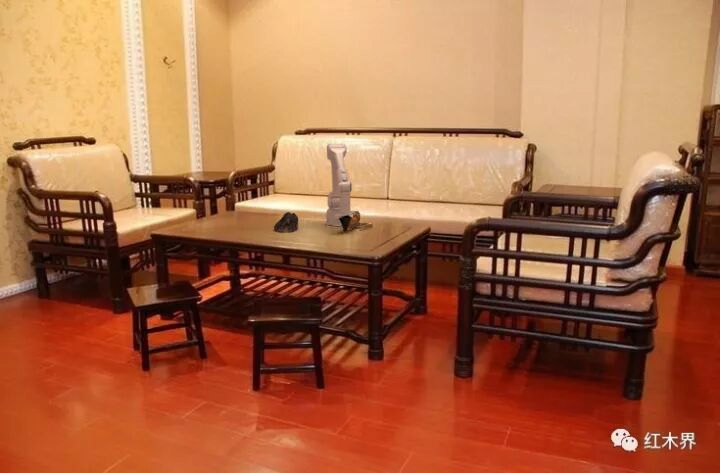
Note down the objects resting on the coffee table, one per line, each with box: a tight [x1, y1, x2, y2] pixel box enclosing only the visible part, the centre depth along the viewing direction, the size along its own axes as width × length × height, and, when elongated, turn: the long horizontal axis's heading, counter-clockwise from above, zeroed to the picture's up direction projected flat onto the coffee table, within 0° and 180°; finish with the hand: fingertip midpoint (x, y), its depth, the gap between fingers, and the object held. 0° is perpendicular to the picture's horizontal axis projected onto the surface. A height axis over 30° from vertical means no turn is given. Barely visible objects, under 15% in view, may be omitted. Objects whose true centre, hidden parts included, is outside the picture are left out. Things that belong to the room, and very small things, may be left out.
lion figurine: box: [342, 210, 361, 232], centre depth 308 cm, size 15×5×9 cm, turn 152°
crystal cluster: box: [273, 211, 299, 233], centre depth 307 cm, size 13×14×10 cm
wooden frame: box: [348, 221, 373, 232], centre depth 311 cm, size 9×10×2 cm
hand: (345, 230), depth 302 cm, fingers closed
